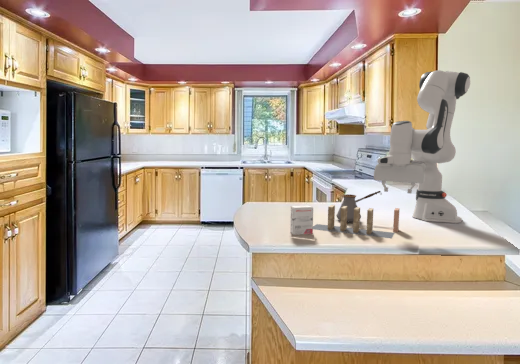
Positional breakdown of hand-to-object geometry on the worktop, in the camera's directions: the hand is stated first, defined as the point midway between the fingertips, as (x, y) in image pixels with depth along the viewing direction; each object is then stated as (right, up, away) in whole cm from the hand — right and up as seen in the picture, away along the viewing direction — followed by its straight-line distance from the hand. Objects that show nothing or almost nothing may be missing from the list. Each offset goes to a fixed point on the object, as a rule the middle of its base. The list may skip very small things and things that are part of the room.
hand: (397, 192), depth 164 cm
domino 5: (0, -17, +2) cm, 17 cm away
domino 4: (-12, -17, -2) cm, 21 cm away
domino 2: (-22, -16, +3) cm, 28 cm away
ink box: (-41, -18, -2) cm, 45 cm away
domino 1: (-27, -16, +5) cm, 32 cm away
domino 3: (-17, -17, +1) cm, 24 cm away
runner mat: (-19, -17, +1) cm, 26 cm away
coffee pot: (-11, -15, +21) cm, 28 cm away
